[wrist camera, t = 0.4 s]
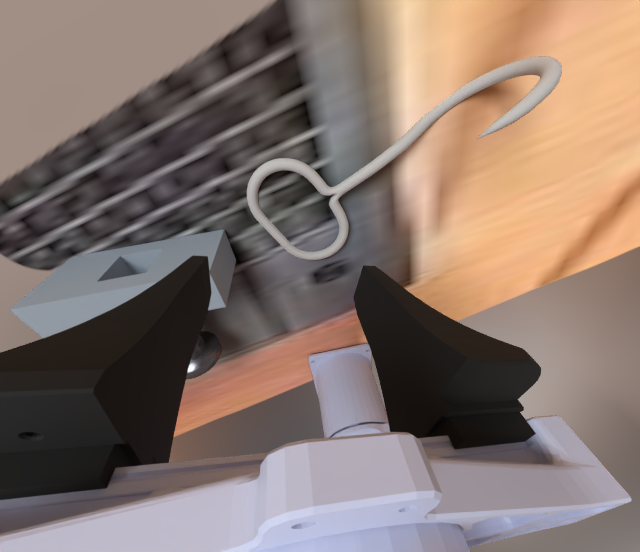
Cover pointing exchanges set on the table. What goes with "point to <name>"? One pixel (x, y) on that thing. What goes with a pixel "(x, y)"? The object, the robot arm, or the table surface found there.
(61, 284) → the hitch block
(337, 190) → the hook
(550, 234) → the table surface
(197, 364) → the pin
